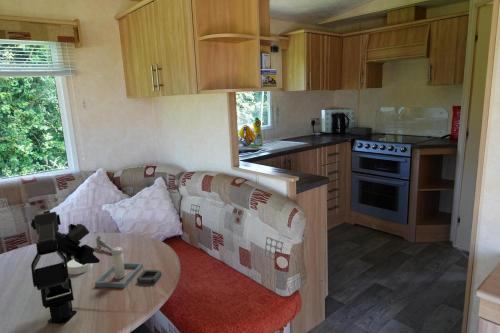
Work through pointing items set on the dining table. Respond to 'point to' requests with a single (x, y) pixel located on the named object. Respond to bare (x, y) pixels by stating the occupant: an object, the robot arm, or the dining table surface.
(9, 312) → the dining table surface
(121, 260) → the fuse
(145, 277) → the grey piece
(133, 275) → the parts tray
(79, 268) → the white round disc
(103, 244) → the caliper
